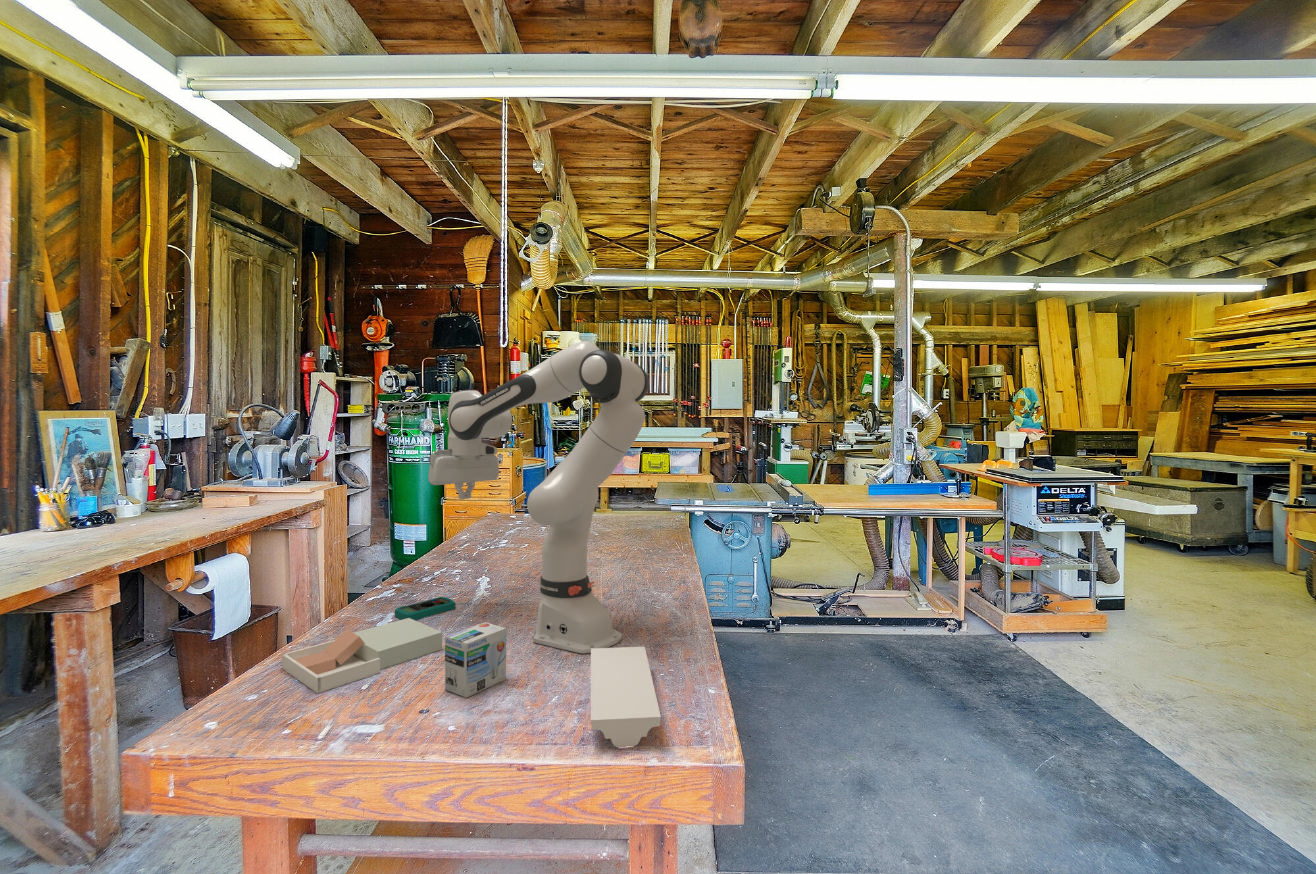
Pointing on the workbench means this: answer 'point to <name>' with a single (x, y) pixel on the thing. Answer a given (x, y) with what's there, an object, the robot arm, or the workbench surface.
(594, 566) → the workbench surface
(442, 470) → the robot arm
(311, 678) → the tray
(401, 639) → the board
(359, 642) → the tile
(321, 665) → the tile
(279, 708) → the workbench surface
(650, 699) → the beige molded block
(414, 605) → the digital multimeter
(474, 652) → the light bulb box
